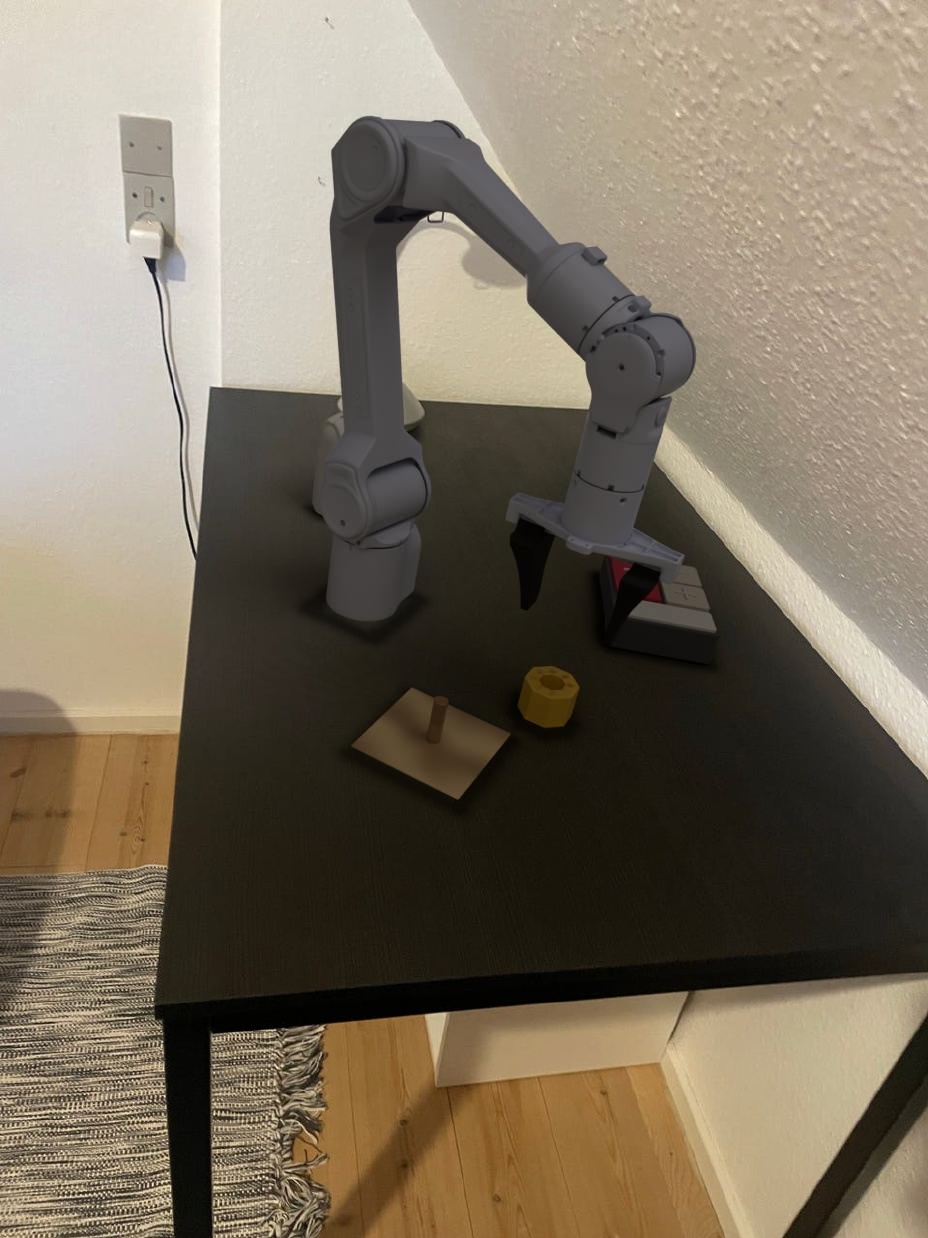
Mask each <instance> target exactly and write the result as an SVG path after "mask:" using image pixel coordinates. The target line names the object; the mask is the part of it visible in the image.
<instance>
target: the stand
mask: <svg viewBox="0 0 928 1238" xmlns="http://www.w3.org/2000/svg"><path fill="white" fill-rule="evenodd" d="M510 736H511V732H508V731H506V730H504V729H502V728H499V727H498V726H496V725H493V724H491V723H489V722H487V721H485V720H483V719H480V718H478V717H476V716H474V715H472V714H469V713H467V712H465V711H463V710H461V709H459V708H457V707H455V706H453V705H450V704H449V699H448V698H447V697H446V696H443V695H438V696H435V697H433V696H431V695H429V694H426V693H425V692H423V691H421V690H418V689H416V688H414V687H410V688H409V690H407V692H405V693H404V694H403V695H402V696H401V697H400V698H399V699H398V700H397V701H396V702H394V704H393V705H391V707H390V708H389V709H387V710H386V711H385V713H383V714H382V716H380V717H379V718H378V719H377V720H376V721H375V722H374V723H373V724H372V725H371V726H370V727H369V728H368V729H367V730H366V731H365V732H363V733H362V734H361V736H360V737H358V738H357V739H356V740H355V741H354V742H353V743H351V745H350V747H351V748H353V749H356V750H358V751H359V752H361V753H364V755H365V754H366V755H368V756H369V757H372V758H373V759H375V760H377V761H379V762H381V763H384V764H386V765H388V766H389V767H392V768H394V769H396V770H398V771H400V772H401V773H403V774H406V775H407V776H409V777H412V778H414V779H415V780H417V781H419V782H421V783H424V784H425V785H427V786H429V787H431V788H433V789H436V790H437V791H439V792H441V793H444V794H446V795H448V796H449V797H452V798H454V799H455V800H460V798H461V797H462V796H463V795H464V794H465V792H466V791H467V790H468V788H469V787H470V786H471V785H472V783H473V782H474V781H475V780H476V779H477V777H478V776H479V774H480V773H481V772H482V771H483V770H484V769H485V768H486V766H487V765H488V763H489V762H490V761H491V760H492V758H493V757H494V756H495V755H496V753H497V752H498V751H499V749H501V747H502V746H503V744H504V743H505V742H506V741H507V740H508V738H509V737H510Z"/></svg>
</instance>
